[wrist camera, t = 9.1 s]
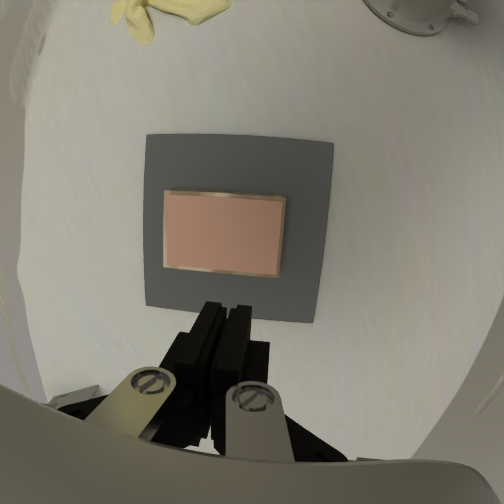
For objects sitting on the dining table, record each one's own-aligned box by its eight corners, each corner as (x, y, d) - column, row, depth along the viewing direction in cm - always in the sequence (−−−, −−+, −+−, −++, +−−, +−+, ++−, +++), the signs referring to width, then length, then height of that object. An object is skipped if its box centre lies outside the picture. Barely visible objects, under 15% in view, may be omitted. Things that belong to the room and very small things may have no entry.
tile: (172, 189, 32) (285, 196, 31) (171, 260, 34) (278, 270, 33) (163, 190, 29) (286, 198, 29) (162, 267, 31) (278, 279, 31)
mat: (333, 143, 30) (333, 143, 29) (312, 321, 35) (312, 323, 35) (148, 135, 31) (146, 134, 31) (147, 303, 36) (145, 305, 36)
